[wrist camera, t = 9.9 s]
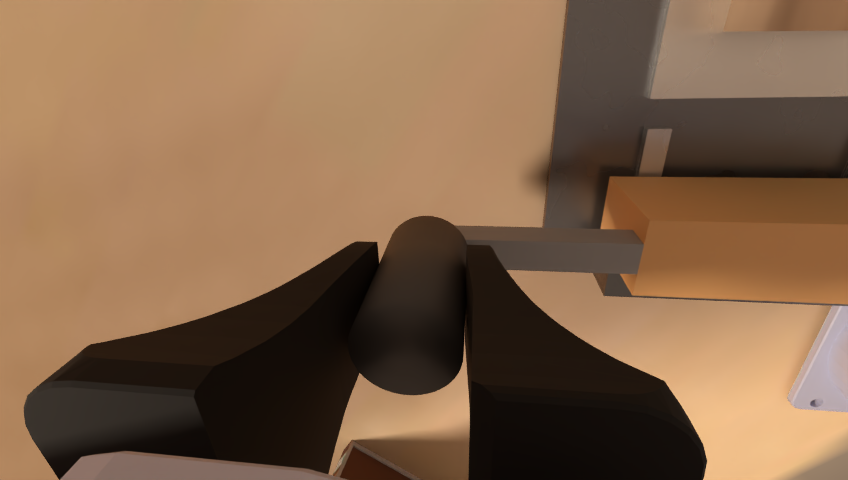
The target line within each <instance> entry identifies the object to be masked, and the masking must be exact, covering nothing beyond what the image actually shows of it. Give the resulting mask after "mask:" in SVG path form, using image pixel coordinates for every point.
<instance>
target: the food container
mask: <svg viewBox="0 0 848 480" xmlns="http://www.w3.org/2000/svg"><path fill="white" fill-rule="evenodd" d="M333 476H336V477H340V478H343V479H347V480H421V479H420V478H418V477H416V476H414V475H413V474H411V473H409V472H407V471H406V470H404V469H402V468H400V467H398V466H397V465H395V464H393V463H391V462H390V461H388V460H386V459H384V458H383V457H381V456H379V455H377V454H375V453H374V452H372V451H370V450H368V449H367V448H365V447H363V446H361V445H360V444H358V443H356V442H354V441H352V440H351V442H350V443H349V444H348V446H347V447H346V448H345V449H344V451H343V453H342V456H341V458H340V460H339V462H338V465H337V467H336V469H335V471H334V474H333Z"/></svg>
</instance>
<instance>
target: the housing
mask: <svg viewBox="0 0 848 480" xmlns="http://www.w3.org/2000/svg"><path fill="white" fill-rule="evenodd" d="M738 31H848V0H731V4H730V8H729V11H728V15H727V19H726V22H725V26H724V30H723V32H738Z"/></svg>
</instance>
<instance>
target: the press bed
mask: <svg viewBox="0 0 848 480" xmlns="http://www.w3.org/2000/svg"><path fill="white" fill-rule="evenodd" d="M730 4H731V0H567V4H566V13H565V22H564V32H563V41H562V50H561V60H560V69H559V78H558V87H557V97H556V106H555V115H554V125H553V134H552V143H551V152H550V162H549V171H548V180H547V190H546V199H545V208H544V217H543V227H542V228H578V229H601V223H602V217H603V212H604V206H605V200H606V195H607V189H608V183H609V178H610V176H617V177H735V178H848V31H738V32H723V30H724V26H725V22H726V19H727V15H728V11H729V8H730ZM593 274H594V276H595V278H596V280H597V282H598V285H599V287H600V289H601V291H602V293H603V295H604V296H619V297H643V298H666V299H690V300H714V301H738V302H761V303H785V304H809V305H833V306H848V304H825V303H801V302H777V301H753V300H729V299H705V298H681V297H657V296H633V295H632V294H631V292H630V291H629V289H628V287H627V286H626V284H625V282H624V280H623V279H622V277H621V275H620V274H612V273H593Z"/></svg>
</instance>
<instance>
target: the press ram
mask: <svg viewBox="0 0 848 480" xmlns="http://www.w3.org/2000/svg"><path fill="white" fill-rule="evenodd" d="M467 245H490V246H491V247H492V248H493V249H494V252H495V254H496V255H497V257H498V259H499V260H500V262H501V263H502V265H503V266H504V268H505V269H506V270H528V271H556V272H584V273H612V274H620V275H621V277H622V279H623V280H624V282H625V284H626V286H627V287H628V289H629V291H630V292H631V294H632V295H633V296H657V297H681V298H705V299H729V300H753V301H777V302H801V303H825V304H848V178H735V177H617V176H610V178H609V183H608V189H607V195H606V200H605V206H604V212H603V217H602V223H601V229H578V228H536V227H493V226H454V225H453V224H451V223H450V222H448V221H446V220H444V219H441V218H438V217H433V216H419V217H415V218H411V219H409V220H407V221H405V222H404V223H402V224H401V225H400V226H398V228H397V229H396V230H395V231H394V233H393V234H392V236H391V238H390V241H389V243H388V245H387V248H386V250H385V252H384V254H383V257H382V259H381V261H380V264H379V266H378V268H377V270H376V273H375V275H374V277H373V280H372V282H371V284H370V286H369V289H368V291H367V293H366V296H365V298H364V300H363V302H362V305H361V307H360V309H359V312H358V314H357V316H356V318H355V321H354V323H353V325H352V328H351V330H350V332H349V336H348V351H349V355H350V358H351V361H352V362H353V364H354V366H355V367H356V369H357V370H358V371H359V372H360V373H361V374H362V376H364V377H365V378H366V379H367V380H368V381H370V382H371V383H373V384H374V385H376V386H378V387H380V388H382V389H384V390H387V391H390V392H393V393H398V394H404V395H422V394H427V393H431V392H435V391H437V390H439V389H441V388H443V387H445V386H446V385H448V384H449V383H450V382H451V381H452V380H453V379H454V378H455V377H456V376H457V374H458V373H459V371H460V369H461V366H462V362H463V352H464V332H465V313H466V251H467Z"/></svg>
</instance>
